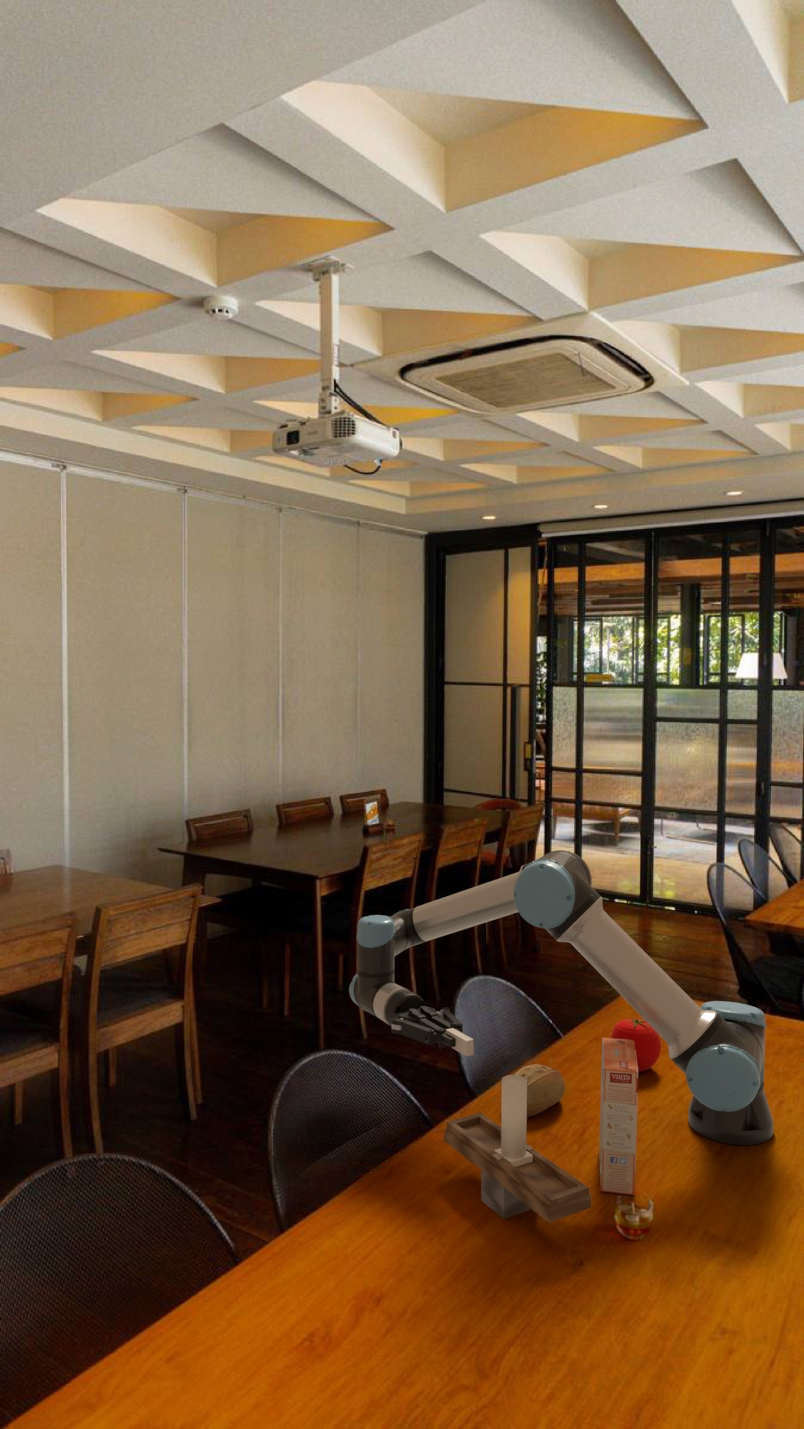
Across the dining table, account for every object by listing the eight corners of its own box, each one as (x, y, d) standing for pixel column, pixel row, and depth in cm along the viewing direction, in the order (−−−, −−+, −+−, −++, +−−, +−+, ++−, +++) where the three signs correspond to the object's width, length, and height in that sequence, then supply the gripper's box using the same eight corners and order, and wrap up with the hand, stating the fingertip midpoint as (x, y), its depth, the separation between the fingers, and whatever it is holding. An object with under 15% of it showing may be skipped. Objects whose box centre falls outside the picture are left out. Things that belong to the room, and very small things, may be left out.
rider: (532, 1161, 150) (533, 1082, 150) (510, 1168, 148) (511, 1088, 148) (516, 1149, 154) (516, 1072, 154) (494, 1156, 152) (495, 1077, 151)
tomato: (598, 1066, 205) (599, 1017, 205) (630, 1054, 212) (631, 1007, 211) (637, 1083, 197) (638, 1032, 196) (669, 1070, 203) (670, 1021, 203)
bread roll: (577, 1102, 188) (578, 1063, 187) (535, 1128, 177) (535, 1086, 176) (537, 1088, 194) (537, 1050, 194) (493, 1112, 183) (494, 1072, 183)
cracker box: (637, 1197, 153) (639, 1070, 152) (599, 1193, 154) (601, 1067, 154) (633, 1155, 167) (635, 1038, 166) (598, 1151, 168) (600, 1035, 167)
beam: (590, 1240, 141) (591, 1185, 141) (548, 1256, 137) (549, 1200, 137) (482, 1157, 165) (482, 1111, 165) (443, 1169, 161) (444, 1121, 161)
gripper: (428, 1021, 187) (500, 1061, 167) (371, 1034, 181) (438, 1077, 160) (428, 983, 187) (500, 1019, 167) (371, 995, 180) (438, 1033, 160)
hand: (470, 1047), depth 164 cm, fingers closed
